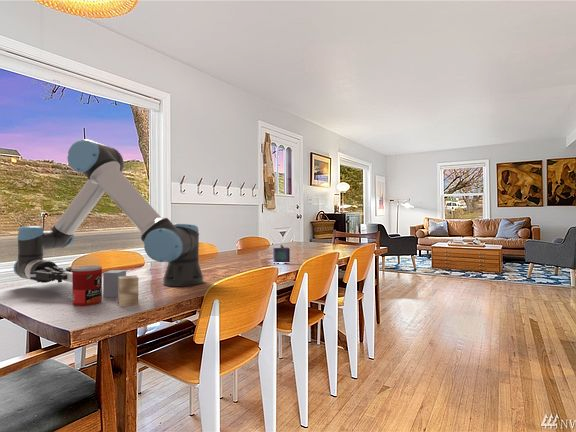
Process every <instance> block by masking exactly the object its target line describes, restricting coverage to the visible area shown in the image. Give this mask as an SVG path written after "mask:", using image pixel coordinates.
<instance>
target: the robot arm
mask: <svg viewBox="0 0 576 432" xmlns="http://www.w3.org/2000/svg"><path fill="white" fill-rule="evenodd" d="M67 154H68V155H67V158H66V159H67V163H68V165H69V167H70V168H71V169H72V170H73V171H76V172H78V173H82V174H83V175H84V176H85V177H86V178H87V181H86V182H85V183H84V184H83V186H82V188H80V190H79V191H78V193H77V194H76V195H75V197H74V198H73V199H72V201H71V202H70V204H69V205H68V207H66V209H65V211H63V213H62V214H61V216H60V217H59V218H58V220H57V221H56V222H55V224H54V225H53V226H52V228H51V229H50V230H44V227H43V226H39V225H38V226H37V225H33V226H32V225H30V226H29V225H27V226H26V225H25V226H20V227H19V228H18V232H17V260H16V262H15V263H14V265H13V272H14V273H15V275H16V276H18V277H20V278H22V279H25V280H31V281H35V282H37V283H42V284H45V283H50V282H54V281H57V284H58V283H62V282H68V283H72V273H73V268H72V267H71V266H69V267H65V269H64V268H63V267H59V266H58V265H57V264H56V263H55V262H53V261H50V260H47V259H44V251H47V250H56V249H59V250H60V249H64V248H68V247H70V246H71V245H72V244H73V243H74V239H75V236H74V235H75V232H76V231H77V230H78V228H79V227H80V226H81V224H82V223H83V222H84V220H85V219H86V218H87V217H88V215H89V214H90V212H91V211H92V210H93V209H94V207H95V206H96V204H97V203H98V202H99V201H100V199H101V198H102V197H103V195H104V194H105V193H106V194H107V196H108V197H109V198H110V199H111V200H112V201H113V202H114V203H115V205H116V206H118V208H119V209H120V211H122V212H123V214H124V215H125V216H126V217H127V218H128V219H129V220H130V222H131V223H132V224H133V225H134V226H135V227H136V229H138V230H139V232H140V240H141V241H142V242H143V245H144V246H143V248H144V251H145V254H146V255H147V256H148V257H149V259H151V260H153V261H155V262H158V263H167V266H166V269H165V273H164V275H163V279H162V280H163V281H162V284H163V285H164V286H166V287H167V286H168V287H189V286H196V285H200V284H202V283H203V282H204V276H203V271H202V269H201V266H200V262H199V259H200V258H199V254H200V253H199V250H200V249H199V246H200V241H199V239H200V237H199V236H200V233H199V227H198V226H197V225H195V224H188V223H173V222H172V221H171V220H170V219H169V218H168V217H161V216H160V214H159V213H158V212H157V211H156V210H155V209H154V207H152V205H151V204H150V203H149V202H148V201H147V200H146V199H145V198H144V197H143V195H142V194H141V193H140V192H139V191H138V189H137V188H136V187H135V186H134V185H133V184H132V183H131V181H130V180H129V179H128V178H127V177H126V176H125V174H124V173H123V170H124V166H125V165H124V164H125V162H124V158H123V155H122V154H121V152H120V151H118V150H117V149H116V148H114V147H112V146H110V145H109V146H108V145H105V144H103V143H100V142H99V143H98V142H96V141H94V140H91V139H86V138H85V139H84V138H82V139H79V140H77V141H75V142H73V143H72V144H71V146H70V147H69V149H68V152H67Z"/></svg>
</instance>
